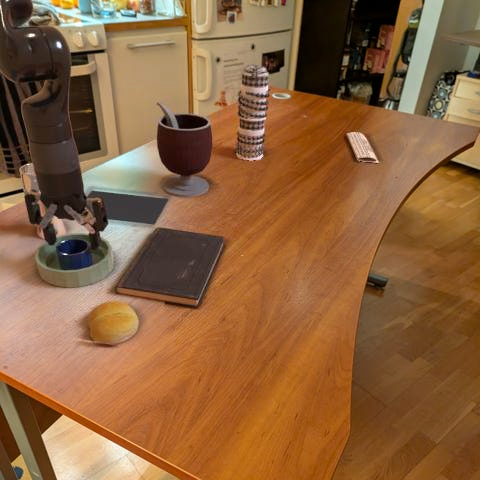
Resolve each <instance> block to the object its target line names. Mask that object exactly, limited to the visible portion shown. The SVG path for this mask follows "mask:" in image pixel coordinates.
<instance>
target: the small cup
mask: <svg viewBox="0 0 480 480" xmlns="http://www.w3.org/2000/svg"><path fill="white" fill-rule="evenodd" d="M56 251H57V256H58V260H59V264H60V268H61V270H64V271H67V270H79V269H83V268H87V267H90V266H92V265H93V260H92V255H91V249H90V245H89V242H88V241H86V240H84V239H78V238H73V239H67V240H64V241H62V242H60V243H59V244H58V245H57V246H56Z"/></svg>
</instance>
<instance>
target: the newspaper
mask: <svg viewBox="0 0 480 480" xmlns="http://www.w3.org/2000/svg"><path fill="white" fill-rule="evenodd" d="M346 137H347V139H348V142H349V144H350V147H351V149H352V152H353V154H354V156H355V158H356V161H357V162H360V161H362V162H360V163H365V162H372V163H376V164H377V163H378V164H380V161H379V159H378V158H377V155H376V153H375V152H374V150H373V148H372V147H371V144H370V142H369V140H368V139H367V137H365V134H363V133H362V132H357V131H351V132H347V133H346ZM372 163H371V164H372Z"/></svg>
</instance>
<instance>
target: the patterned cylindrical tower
mask: <svg viewBox="0 0 480 480" xmlns="http://www.w3.org/2000/svg"><path fill="white" fill-rule="evenodd" d="M240 73H241V83H240V86H239V87H240V90H239V91H238V94H237V96H238V98H237V102H238V106H237V117H238V118H239V121H238V123H239V125H238V129H237V130H238V131H237V132H236V135H237V137H236V141H237V142H236V144H235V146H236V148H235V151H236V153H235V156H236V155H237V156H236V158H238V159H240V160H242V159H243V161H247V160H249V161H248V162H254V161H253V160H256V161H260V160H262V159H263V158H262V157H264V151H265V150H264V149H265V145H264V143H265V140H266V139H265V136H266V133H265V130H266V129H265V128H266V127H265V121H266V119H267V116H268V114H267V113H266V111H268V110H269V107H268V106H267V105H269V100H267V99H268V98H269V97H270V96H271V95H270V93H269V92H270V91H271V89H270V88H269V76H270V72H269V71H268V70H267V68H266V67H265V66H264V65H260V64H248V65H246V66H245V67H244V68H243V70H241V71H240ZM261 158H262V159H261Z"/></svg>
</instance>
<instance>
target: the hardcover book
mask: <svg viewBox="0 0 480 480" xmlns="http://www.w3.org/2000/svg"><path fill="white" fill-rule="evenodd" d="M225 240H226V236H222V235H215V234H209V233H202V232H195V231H188V230H182V229H175V228H174V229H173V228H168V227H167V228H166V227H161V226H157V227H155V228H154V230H153V231H152V233H151V234H150V236H149V237H148V239H147V240H146V242H145V243H144V244H143V246H142V248H141V249H140V250H139V252H138V253H137V255H136V257H134V259H133V261H132V262H131V264H130V265H129V266H128V268H127V269H126V271H125V272H124V274H123V275H122V277H121V278H120V280H119V281H118V282H117V284H116V285H115V287H114V291H115V294H116V295H117V294H124V295H129V296H134V297H140V298H147V299H153V300H158V301H159V300H160V301H164V304H168V305H174V306H181V307H184V308H185V307H186V308H190V309H191V308H192V309H199V308H200V306H201V304H202V302H203V298H204V296H205V294H206V292H207V290H208V287H209V284H210V282H211V280H212V277H213V275H214V272H215V271H216V268H217V265H218V263H219V262H220V261H219V260H220V258H221V256H222V254H223V252H224V249H225V247H226V244H224V242H225Z"/></svg>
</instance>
